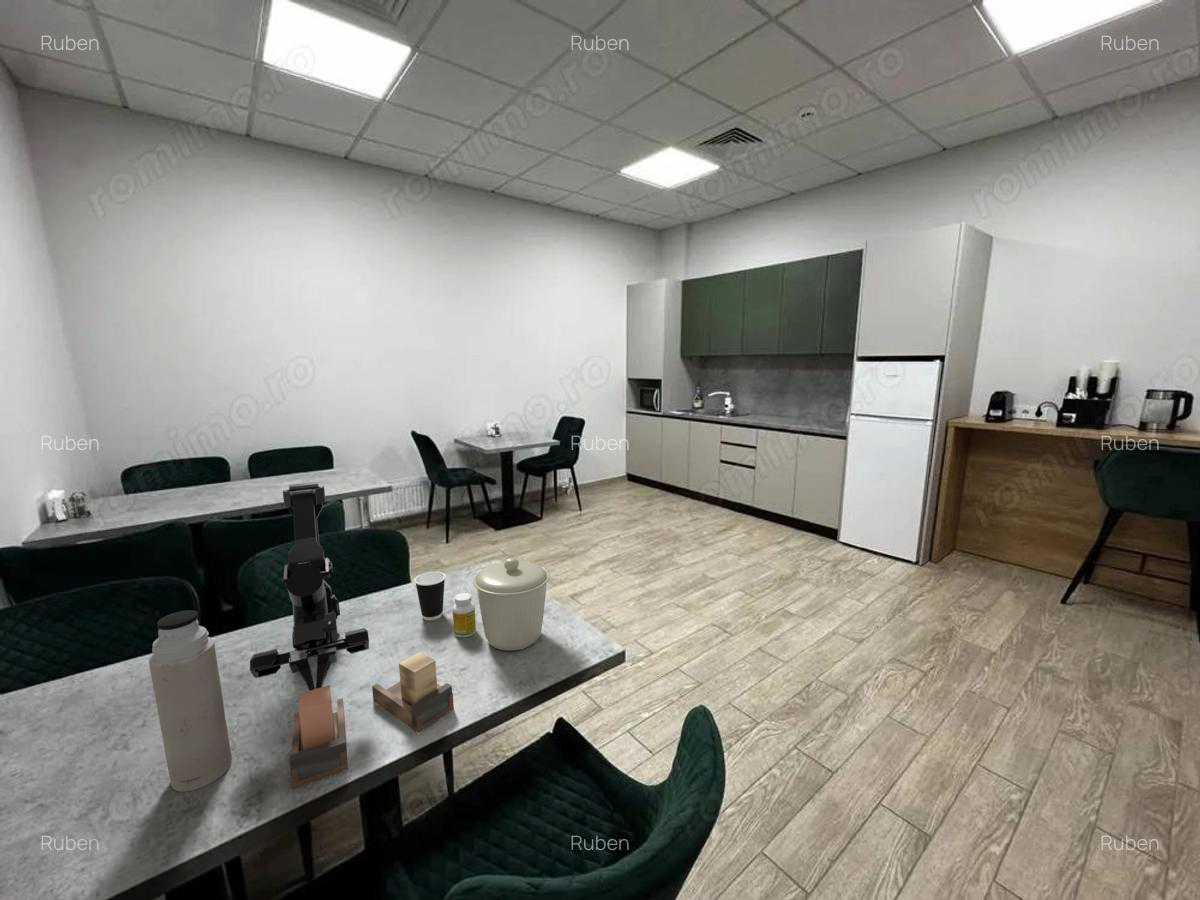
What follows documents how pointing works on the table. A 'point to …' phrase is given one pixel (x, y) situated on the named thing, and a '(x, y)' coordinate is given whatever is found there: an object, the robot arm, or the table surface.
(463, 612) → the supplement bottle
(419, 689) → the oak slider
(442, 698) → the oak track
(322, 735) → the terracotta slider
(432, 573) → the dixie cup
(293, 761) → the dark wooden block holder
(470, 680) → the table surface
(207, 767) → the thermos bottle
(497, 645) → the canister
